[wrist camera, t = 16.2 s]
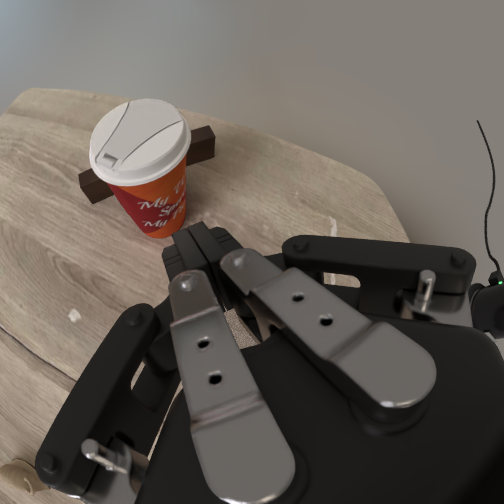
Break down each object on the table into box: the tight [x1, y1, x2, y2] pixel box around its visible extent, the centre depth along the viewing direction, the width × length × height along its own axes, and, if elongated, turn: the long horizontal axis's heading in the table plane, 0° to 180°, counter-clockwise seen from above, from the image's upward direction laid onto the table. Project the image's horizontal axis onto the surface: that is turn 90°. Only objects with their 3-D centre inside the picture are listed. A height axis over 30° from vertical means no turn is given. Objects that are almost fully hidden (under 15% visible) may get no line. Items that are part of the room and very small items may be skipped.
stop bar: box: [78, 125, 215, 204], centre depth 29 cm, size 16×2×4 cm, turn 116°
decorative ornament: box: [0, 459, 49, 496], centre depth 13 cm, size 4×8×5 cm, turn 97°
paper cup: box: [89, 99, 191, 238], centre depth 23 cm, size 8×8×14 cm
